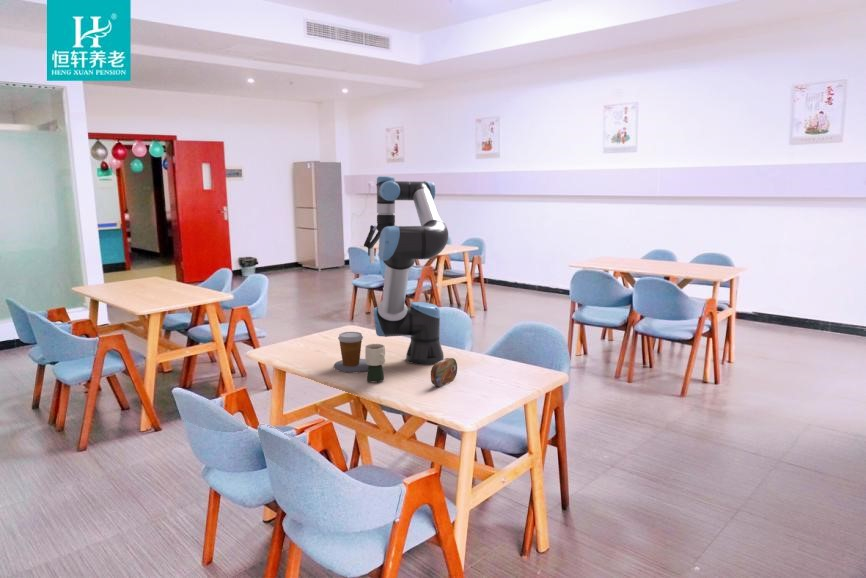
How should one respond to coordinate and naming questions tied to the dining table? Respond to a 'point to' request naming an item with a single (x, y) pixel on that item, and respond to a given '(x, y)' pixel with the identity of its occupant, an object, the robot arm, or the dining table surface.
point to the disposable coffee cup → (350, 348)
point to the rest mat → (359, 368)
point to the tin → (443, 372)
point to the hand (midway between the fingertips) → (386, 264)
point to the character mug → (375, 362)
